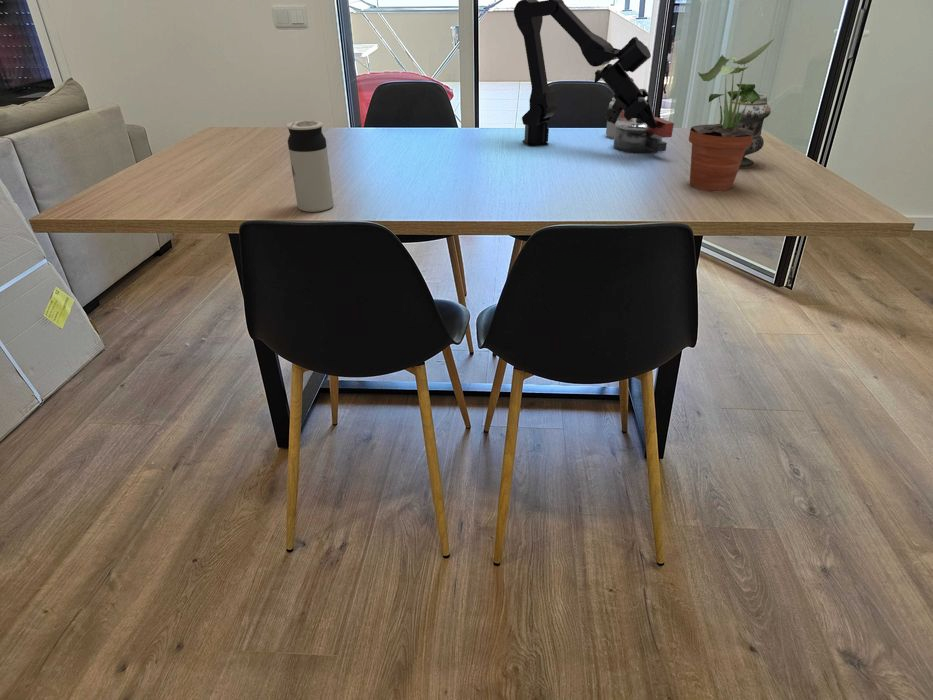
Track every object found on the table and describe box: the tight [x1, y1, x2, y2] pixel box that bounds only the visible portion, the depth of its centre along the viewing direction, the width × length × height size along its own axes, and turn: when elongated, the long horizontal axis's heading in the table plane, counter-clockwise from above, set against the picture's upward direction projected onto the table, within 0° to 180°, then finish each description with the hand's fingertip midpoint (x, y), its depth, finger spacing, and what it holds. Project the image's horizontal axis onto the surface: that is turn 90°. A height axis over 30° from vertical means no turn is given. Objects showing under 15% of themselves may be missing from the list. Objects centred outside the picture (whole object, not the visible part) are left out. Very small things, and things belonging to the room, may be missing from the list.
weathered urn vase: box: [722, 92, 772, 169], centre depth 163 cm, size 12×12×18 cm
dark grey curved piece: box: [613, 127, 668, 155], centre depth 179 cm, size 14×24×6 cm, turn 14°
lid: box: [615, 111, 675, 139], centre depth 176 cm, size 14×25×4 cm, turn 16°
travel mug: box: [286, 119, 334, 213], centre depth 131 cm, size 8×8×18 cm
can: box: [605, 96, 624, 140], centre depth 192 cm, size 8×8×12 cm
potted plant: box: [688, 38, 775, 192], centre depth 141 cm, size 16×15×35 cm
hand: (654, 127), depth 169 cm, fingers closed
